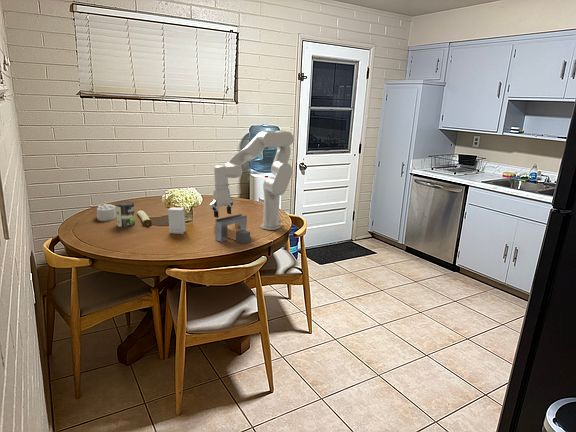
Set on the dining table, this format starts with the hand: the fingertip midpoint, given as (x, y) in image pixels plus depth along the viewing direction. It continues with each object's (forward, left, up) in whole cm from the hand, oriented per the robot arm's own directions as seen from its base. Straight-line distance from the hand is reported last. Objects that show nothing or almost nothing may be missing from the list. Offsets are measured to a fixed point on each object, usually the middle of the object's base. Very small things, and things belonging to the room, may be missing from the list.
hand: (222, 215), depth 230 cm
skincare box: (+19, -18, -11) cm, 29 cm away
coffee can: (+34, -49, -11) cm, 61 cm away
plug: (+1, +9, -11) cm, 14 cm away
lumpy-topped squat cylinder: (+36, -72, -12) cm, 81 cm away
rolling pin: (+21, -50, -12) cm, 56 cm away
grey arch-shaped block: (+1, +9, -11) cm, 14 cm away
